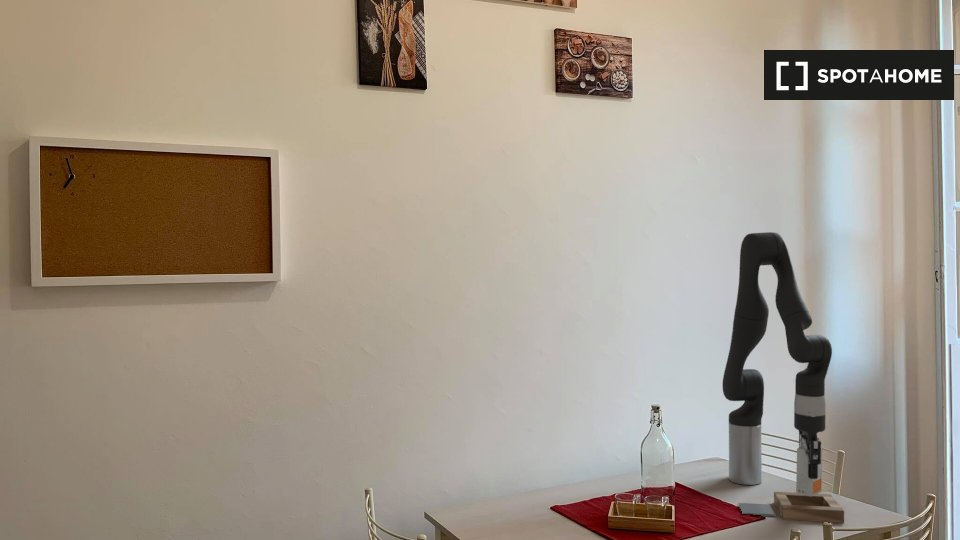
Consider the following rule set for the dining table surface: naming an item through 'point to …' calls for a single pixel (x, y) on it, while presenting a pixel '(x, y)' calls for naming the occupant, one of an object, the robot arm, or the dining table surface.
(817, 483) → the skincare box
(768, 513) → the slate coaster
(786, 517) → the socket block
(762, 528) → the dining table surface
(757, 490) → the dining table surface
